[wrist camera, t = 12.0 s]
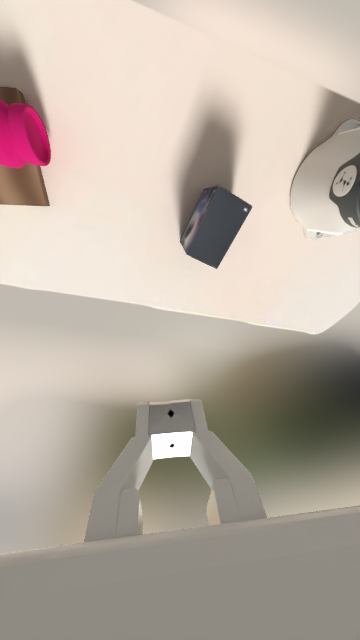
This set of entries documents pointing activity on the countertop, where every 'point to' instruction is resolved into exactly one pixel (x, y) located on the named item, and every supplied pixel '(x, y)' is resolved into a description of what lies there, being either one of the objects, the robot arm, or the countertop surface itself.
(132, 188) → the countertop surface
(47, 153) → the pepper mill
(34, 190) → the walnut board
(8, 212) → the countertop surface
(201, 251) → the small box
